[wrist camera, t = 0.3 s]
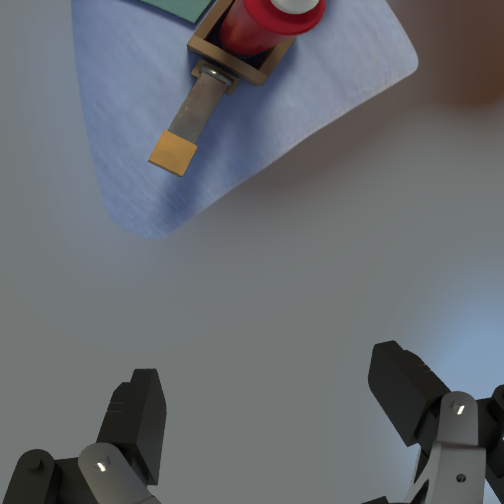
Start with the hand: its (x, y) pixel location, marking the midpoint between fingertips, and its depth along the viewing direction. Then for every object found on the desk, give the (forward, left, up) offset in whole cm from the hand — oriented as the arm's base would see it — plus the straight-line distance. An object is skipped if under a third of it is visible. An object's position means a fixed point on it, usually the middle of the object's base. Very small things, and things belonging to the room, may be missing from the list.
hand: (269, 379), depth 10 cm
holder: (-5, +14, -30) cm, 34 cm away
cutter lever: (-5, +4, -26) cm, 27 cm away
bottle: (-5, +15, -30) cm, 34 cm away
